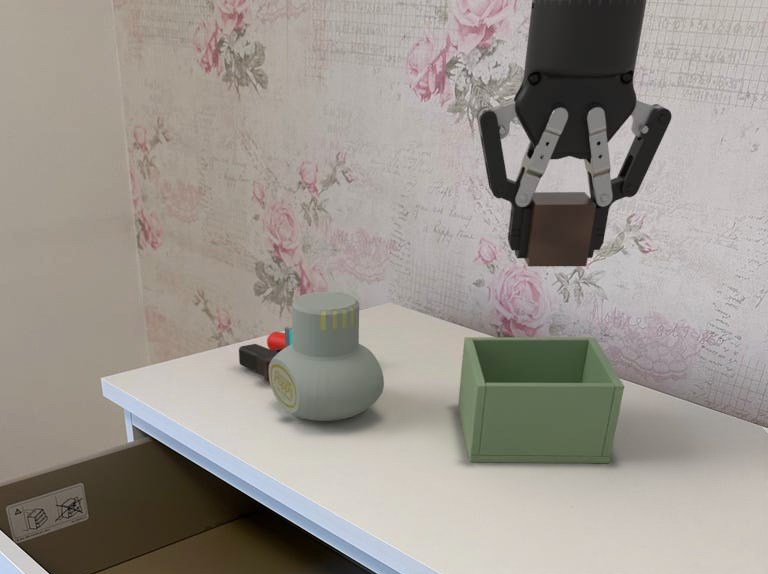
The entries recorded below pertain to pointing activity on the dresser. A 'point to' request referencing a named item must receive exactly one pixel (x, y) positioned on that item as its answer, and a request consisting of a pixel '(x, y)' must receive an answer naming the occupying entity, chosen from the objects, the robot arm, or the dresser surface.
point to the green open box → (538, 400)
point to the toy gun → (264, 352)
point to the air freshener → (325, 361)
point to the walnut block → (560, 229)
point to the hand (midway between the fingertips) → (552, 254)
